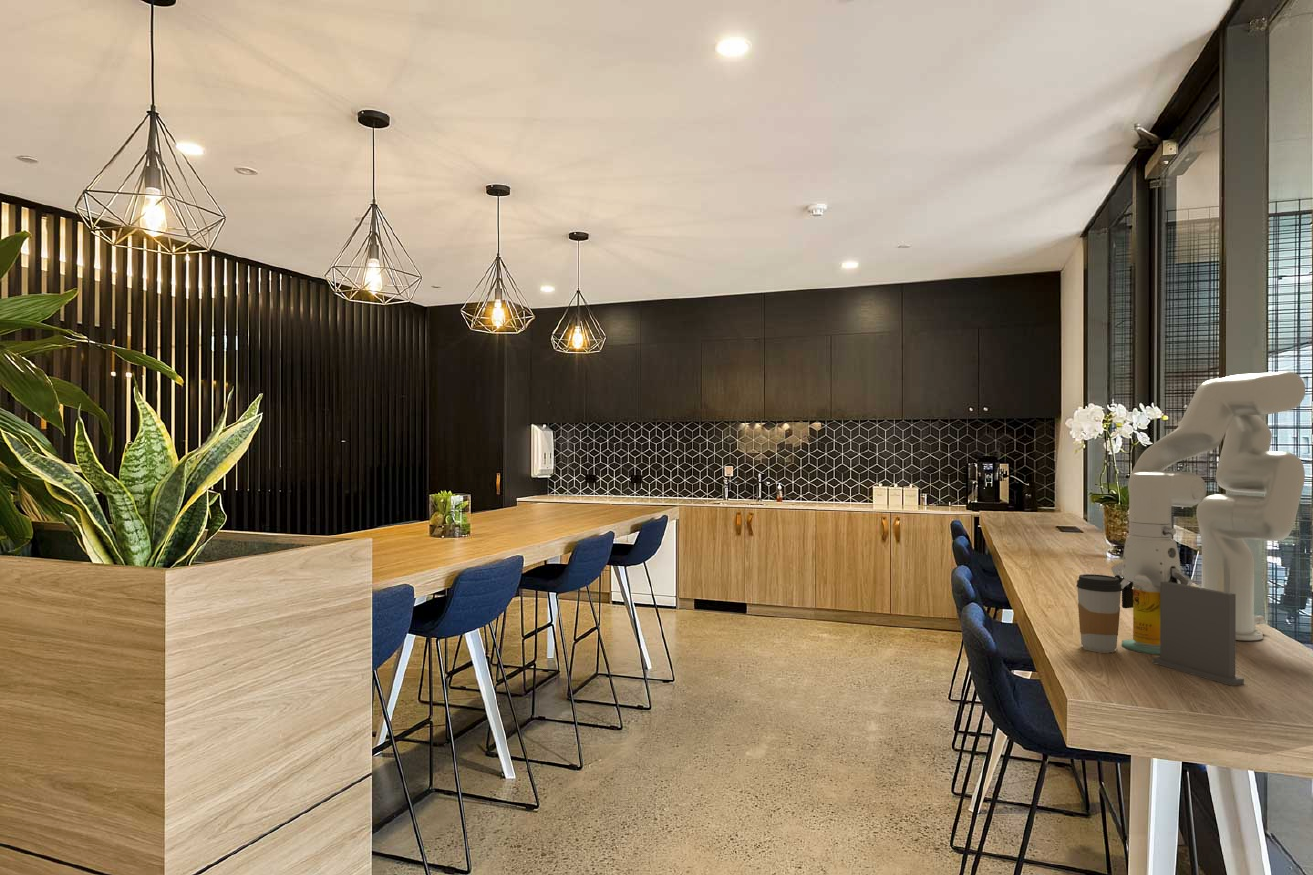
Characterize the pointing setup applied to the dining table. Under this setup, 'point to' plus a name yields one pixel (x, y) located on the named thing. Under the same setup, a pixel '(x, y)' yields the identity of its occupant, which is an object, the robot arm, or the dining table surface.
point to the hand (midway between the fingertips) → (1149, 612)
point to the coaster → (1139, 647)
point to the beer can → (1146, 612)
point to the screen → (1198, 632)
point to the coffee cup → (1099, 611)
